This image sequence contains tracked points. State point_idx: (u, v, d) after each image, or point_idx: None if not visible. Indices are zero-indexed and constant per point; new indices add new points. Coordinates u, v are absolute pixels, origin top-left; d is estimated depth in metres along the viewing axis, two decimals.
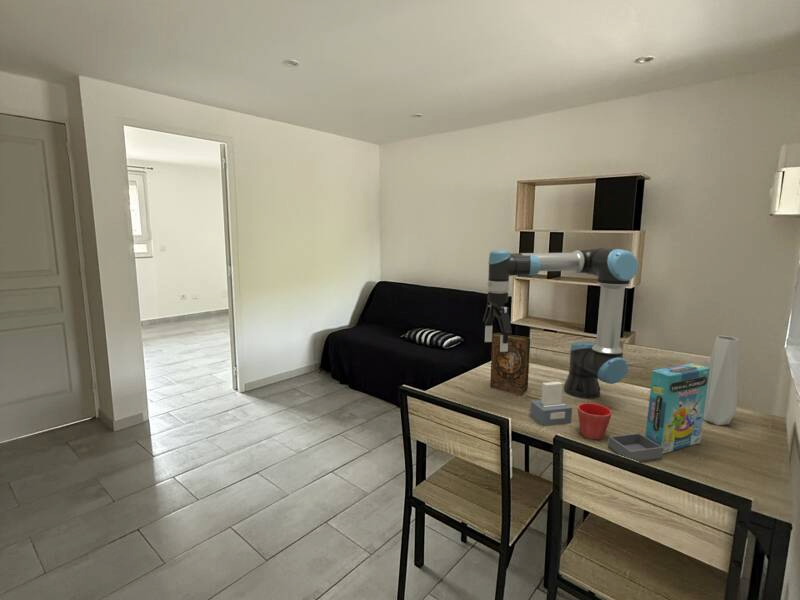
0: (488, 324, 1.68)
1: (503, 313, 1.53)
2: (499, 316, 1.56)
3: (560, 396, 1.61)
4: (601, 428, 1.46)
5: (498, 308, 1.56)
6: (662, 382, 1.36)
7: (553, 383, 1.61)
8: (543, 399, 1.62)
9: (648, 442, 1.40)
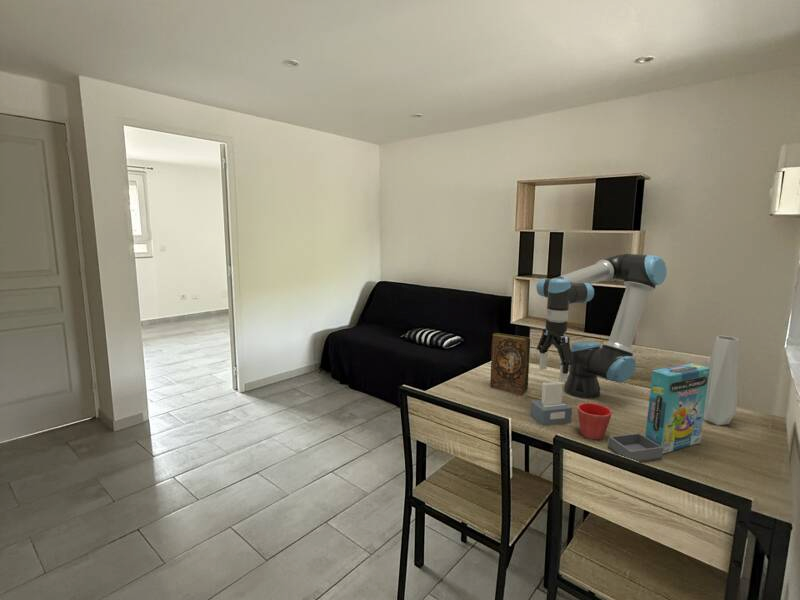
0: (543, 351, 1.66)
1: (564, 343, 1.51)
2: (558, 345, 1.54)
3: (560, 396, 1.61)
4: (601, 428, 1.46)
5: (557, 337, 1.54)
6: (662, 382, 1.36)
7: (553, 383, 1.61)
8: (543, 399, 1.62)
9: (648, 442, 1.40)
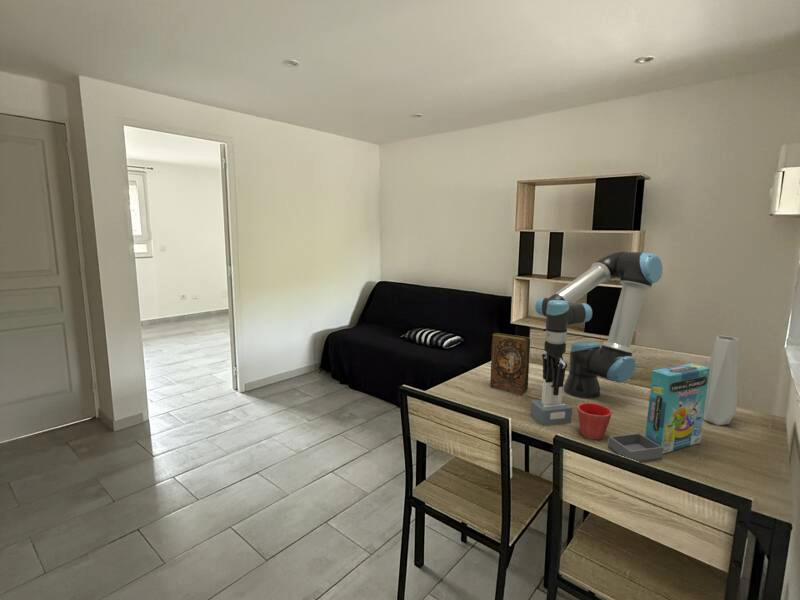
0: (549, 380, 1.63)
1: (560, 369, 1.54)
2: (555, 368, 1.58)
3: (560, 396, 1.61)
4: (601, 428, 1.46)
5: (556, 359, 1.56)
6: (662, 382, 1.36)
7: None
8: (543, 399, 1.62)
9: (648, 442, 1.40)
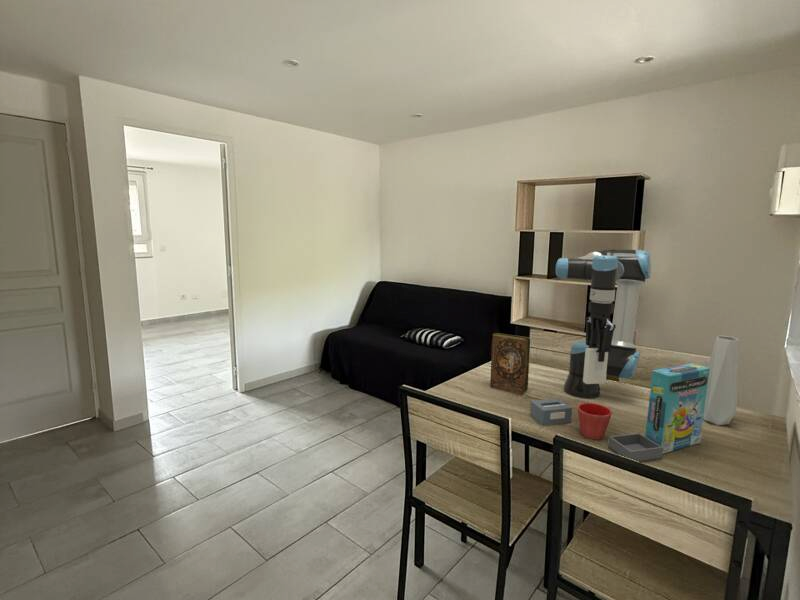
0: (593, 346, 1.47)
1: (607, 331, 1.38)
2: (600, 331, 1.41)
3: (605, 363, 1.45)
4: (601, 428, 1.46)
5: (603, 320, 1.40)
6: (662, 382, 1.36)
7: None
8: (585, 366, 1.45)
9: (648, 442, 1.40)
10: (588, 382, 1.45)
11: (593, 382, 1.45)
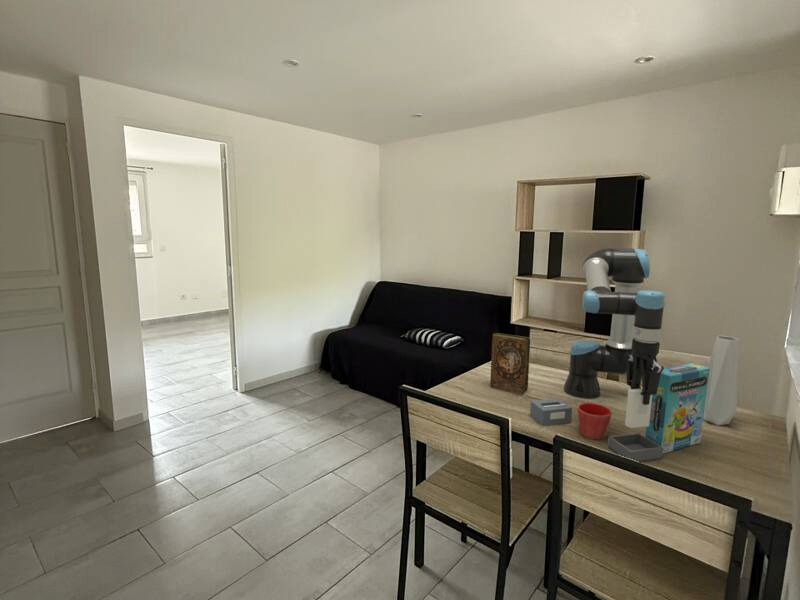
0: (636, 387, 1.37)
1: (655, 373, 1.28)
2: (646, 372, 1.31)
3: (649, 405, 1.35)
4: (601, 428, 1.46)
5: (649, 361, 1.30)
6: (662, 382, 1.36)
7: (641, 390, 1.35)
8: (628, 409, 1.35)
9: (648, 442, 1.40)
10: (631, 426, 1.35)
11: (637, 426, 1.35)
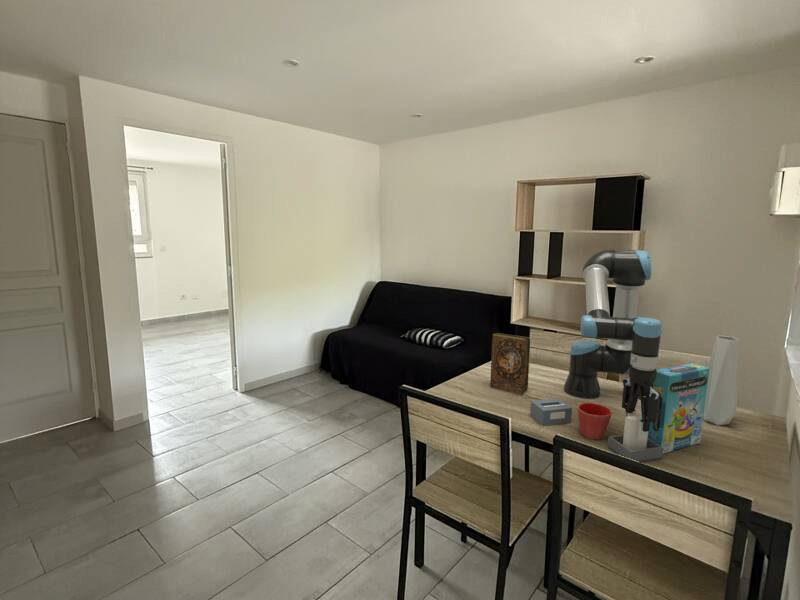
0: (631, 410, 1.39)
1: (653, 400, 1.29)
2: (644, 399, 1.33)
3: None
4: (601, 428, 1.46)
5: (646, 388, 1.32)
6: (662, 382, 1.36)
7: (638, 417, 1.37)
8: (626, 435, 1.37)
9: (648, 442, 1.40)
10: None
11: None
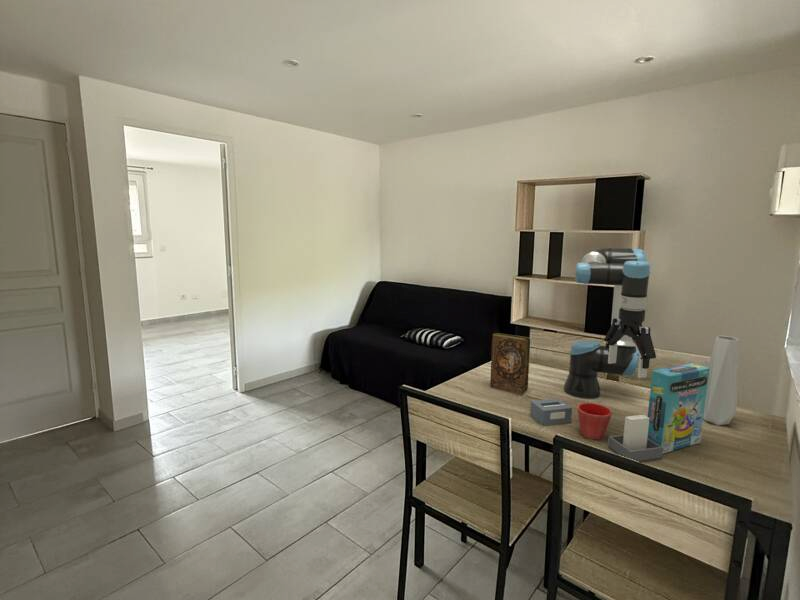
0: (612, 343, 1.48)
1: (644, 334, 1.33)
2: (636, 337, 1.36)
3: (646, 432, 1.37)
4: (601, 428, 1.46)
5: (635, 328, 1.36)
6: (662, 382, 1.36)
7: (638, 417, 1.37)
8: (626, 435, 1.37)
9: (648, 442, 1.40)
10: None
11: None
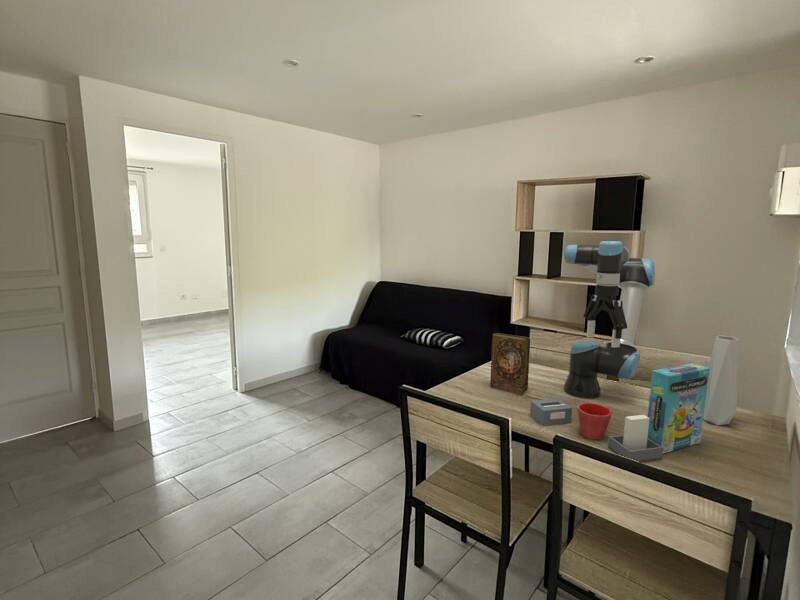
0: (591, 319, 1.61)
1: (617, 307, 1.46)
2: (610, 310, 1.49)
3: (646, 432, 1.37)
4: (601, 428, 1.46)
5: (609, 302, 1.49)
6: (662, 382, 1.36)
7: (638, 417, 1.37)
8: (626, 435, 1.37)
9: (648, 442, 1.40)
10: None
11: None
